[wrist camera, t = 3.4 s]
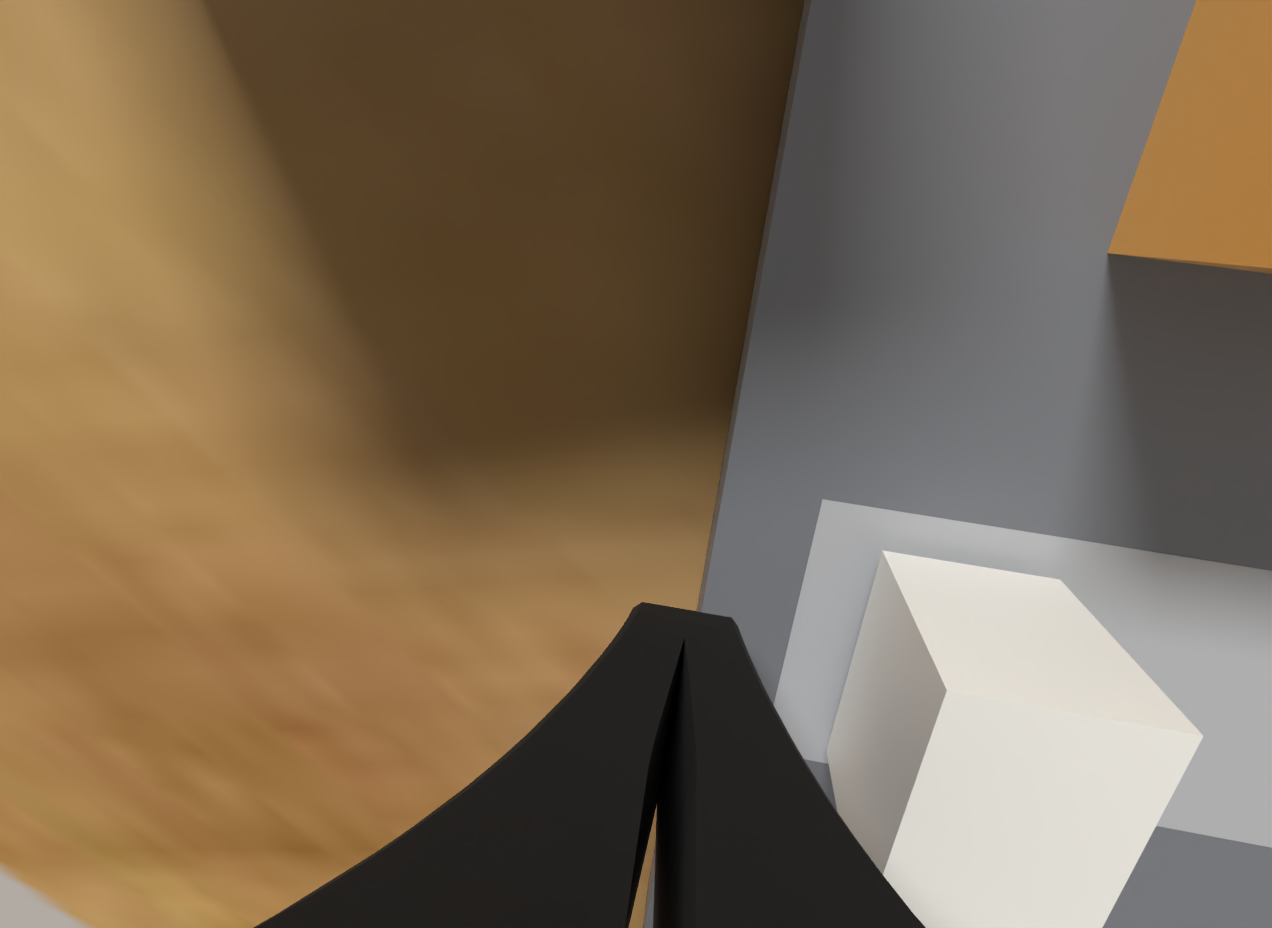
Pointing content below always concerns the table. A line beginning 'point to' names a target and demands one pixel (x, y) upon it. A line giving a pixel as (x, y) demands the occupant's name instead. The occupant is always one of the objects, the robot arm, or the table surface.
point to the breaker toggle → (999, 748)
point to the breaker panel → (1006, 392)
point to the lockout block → (1209, 148)
